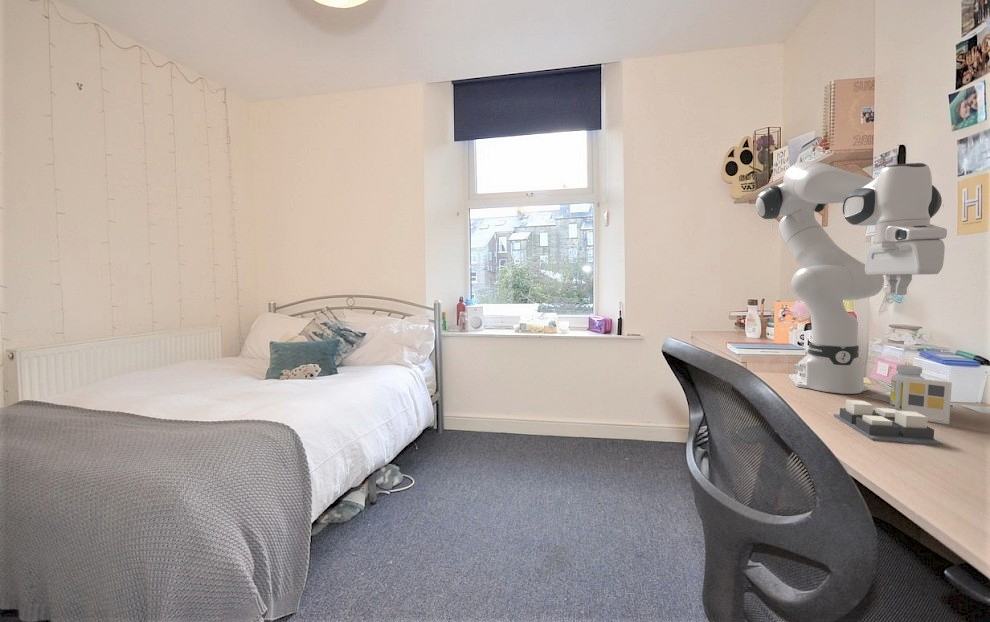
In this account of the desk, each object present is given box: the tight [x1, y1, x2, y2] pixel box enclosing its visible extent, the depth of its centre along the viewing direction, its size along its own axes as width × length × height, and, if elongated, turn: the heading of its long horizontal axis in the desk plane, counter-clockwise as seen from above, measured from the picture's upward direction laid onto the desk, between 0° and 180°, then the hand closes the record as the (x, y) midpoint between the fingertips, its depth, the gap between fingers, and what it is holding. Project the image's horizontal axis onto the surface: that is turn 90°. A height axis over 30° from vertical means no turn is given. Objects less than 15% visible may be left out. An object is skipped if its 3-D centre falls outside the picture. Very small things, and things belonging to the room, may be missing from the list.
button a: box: [875, 407, 899, 417], centre depth 95 cm, size 4×4×3 cm
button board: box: [833, 407, 944, 446], centre depth 93 cm, size 16×12×3 cm
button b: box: [895, 410, 928, 429], centre depth 88 cm, size 4×4×3 cm
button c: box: [845, 399, 874, 416], centre depth 97 cm, size 4×4×3 cm
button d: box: [862, 415, 892, 426], centre depth 90 cm, size 4×4×3 cm
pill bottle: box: [889, 364, 925, 411], centre depth 106 cm, size 6×6×12 cm
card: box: [902, 377, 953, 425], centre depth 98 cm, size 2×8×10 cm, turn 44°
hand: (897, 294), depth 93 cm, fingers closed
